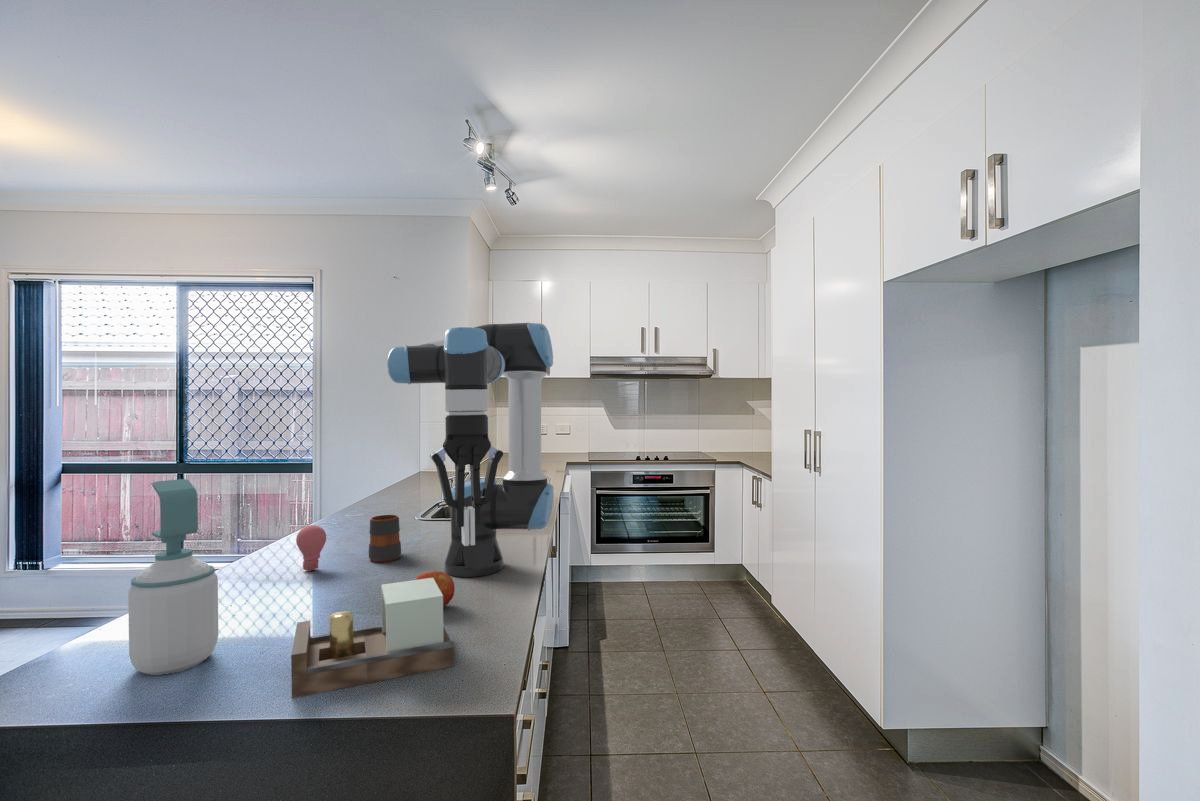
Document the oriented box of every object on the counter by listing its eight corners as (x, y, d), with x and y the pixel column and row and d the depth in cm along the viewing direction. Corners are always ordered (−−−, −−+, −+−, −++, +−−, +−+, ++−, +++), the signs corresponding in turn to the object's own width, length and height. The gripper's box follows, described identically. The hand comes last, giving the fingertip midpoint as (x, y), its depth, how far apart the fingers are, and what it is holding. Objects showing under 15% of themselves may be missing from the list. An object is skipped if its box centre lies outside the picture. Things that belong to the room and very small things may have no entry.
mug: (407, 551, 170) (407, 511, 170) (396, 562, 158) (395, 520, 158) (378, 552, 170) (377, 512, 170) (364, 563, 158) (363, 521, 158)
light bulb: (332, 569, 153) (331, 524, 153) (306, 576, 147) (305, 529, 147) (316, 565, 156) (316, 521, 156) (290, 572, 150) (290, 526, 150)
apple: (412, 605, 125) (412, 568, 125) (452, 599, 128) (451, 564, 128) (414, 617, 118) (414, 578, 118) (456, 612, 120) (455, 574, 120)
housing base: (440, 634, 109) (440, 600, 109) (454, 665, 96) (453, 626, 96) (297, 660, 99) (297, 622, 99) (291, 698, 86) (291, 655, 86)
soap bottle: (205, 641, 107) (203, 474, 107) (229, 660, 99) (227, 479, 99) (120, 666, 97) (117, 482, 97) (139, 689, 89) (136, 489, 89)
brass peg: (353, 656, 98) (353, 609, 98) (353, 665, 94) (353, 616, 94) (330, 660, 96) (329, 613, 96) (329, 670, 93) (329, 620, 93)
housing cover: (433, 622, 107) (433, 577, 107) (443, 644, 97) (442, 595, 97) (382, 630, 103) (381, 584, 103) (386, 655, 93) (386, 604, 93)
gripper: (497, 412, 110) (499, 535, 110) (425, 414, 105) (427, 543, 105) (508, 413, 103) (510, 544, 103) (431, 414, 98) (433, 553, 98)
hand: (468, 543), depth 104 cm, fingers closed
